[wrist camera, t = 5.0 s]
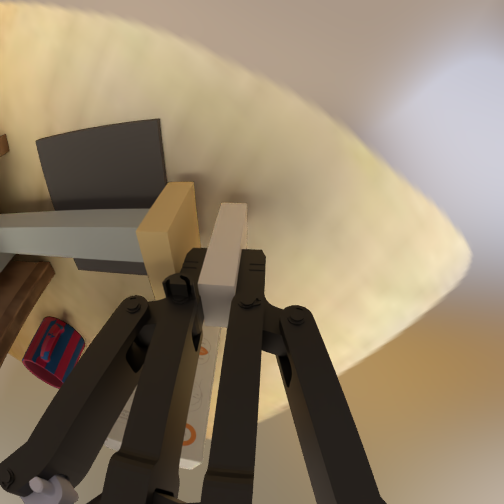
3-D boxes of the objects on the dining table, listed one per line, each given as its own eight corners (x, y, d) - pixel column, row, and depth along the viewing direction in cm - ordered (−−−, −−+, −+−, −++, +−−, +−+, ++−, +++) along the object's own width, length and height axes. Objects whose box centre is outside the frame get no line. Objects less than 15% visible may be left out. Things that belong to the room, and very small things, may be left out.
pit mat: (80, 266, 23) (78, 269, 23) (38, 139, 15) (35, 141, 15) (182, 274, 22) (181, 277, 22) (159, 118, 15) (156, 120, 15)
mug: (41, 329, 31) (22, 367, 26) (48, 296, 26) (21, 342, 21) (80, 353, 34) (64, 393, 28) (95, 327, 29) (74, 377, 23)
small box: (138, 337, 29) (104, 447, 19) (138, 300, 25) (91, 433, 15) (210, 356, 30) (192, 471, 20) (223, 324, 26) (203, 464, 16)
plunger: (11, 252, 22) (-23, 296, 17) (-20, 174, 16) (-66, 213, 11) (207, 264, 21) (188, 337, 16) (195, 142, 15) (156, 194, 10)
